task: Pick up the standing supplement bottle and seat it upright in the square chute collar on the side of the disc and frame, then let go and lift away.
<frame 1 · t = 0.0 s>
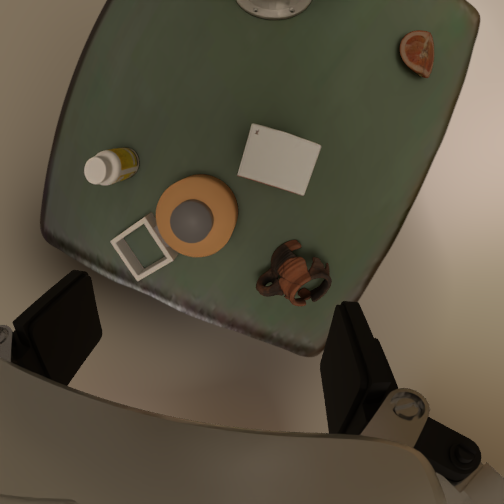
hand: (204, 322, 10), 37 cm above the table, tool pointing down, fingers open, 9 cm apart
fruit slice: (412, 57, 35), on the table
supplement bottle: (126, 162, 45), on the table
disc and frame: (172, 228, 49), on the table
small box: (277, 153, 43), on the table
brown curved piece: (291, 267, 50), on the table
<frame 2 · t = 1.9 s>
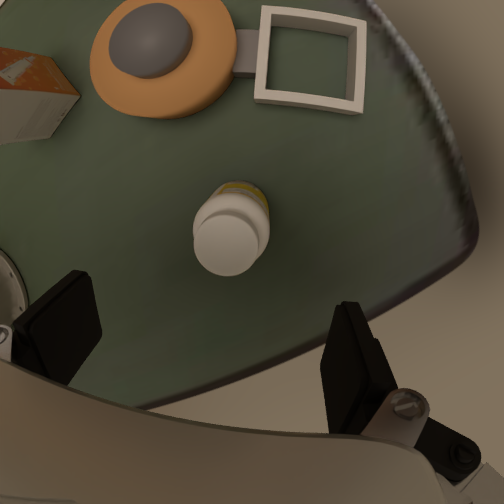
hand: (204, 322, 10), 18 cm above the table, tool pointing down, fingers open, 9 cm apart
supplement bottle: (239, 208, 27), on the table
disc and frame: (239, 57, 22), on the table
small box: (50, 96, 23), on the table
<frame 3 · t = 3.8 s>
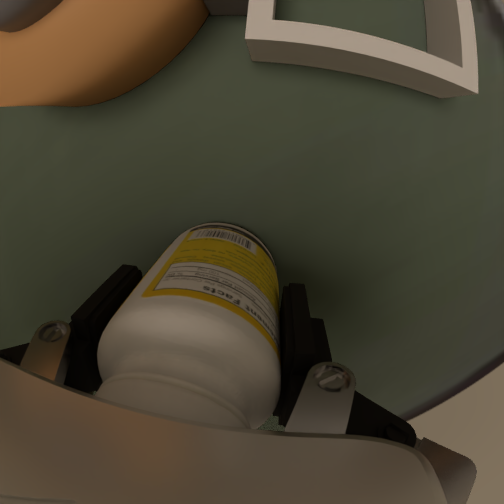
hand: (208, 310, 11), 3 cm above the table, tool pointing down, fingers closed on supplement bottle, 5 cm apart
supplement bottle: (221, 273, 14), on the table, touching gripper
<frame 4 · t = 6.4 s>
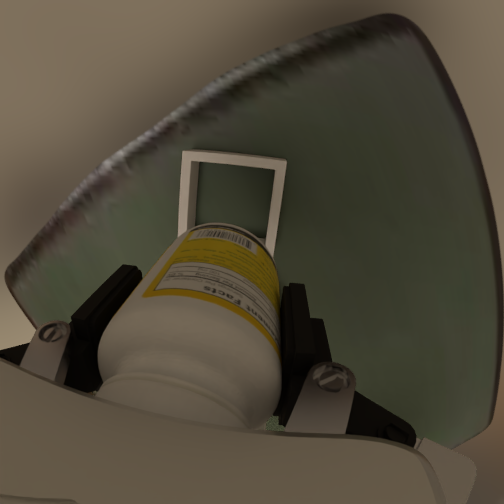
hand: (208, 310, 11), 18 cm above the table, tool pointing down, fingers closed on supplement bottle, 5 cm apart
supplement bottle: (222, 273, 14), point 15 cm above the table, touching gripper
disc and frame: (227, 257, 30), on the table
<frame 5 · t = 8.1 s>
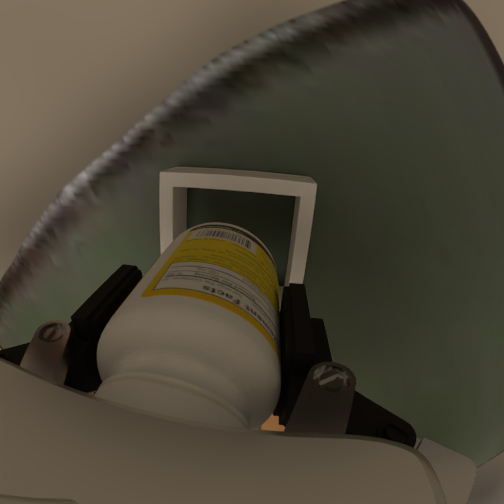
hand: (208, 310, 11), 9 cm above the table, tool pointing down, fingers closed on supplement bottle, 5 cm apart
supplement bottle: (221, 273, 14), point 6 cm above the table, touching gripper
disc and frame: (233, 310, 22), on the table
when the fingers open (4 cm above the table, at t = 9.5 s): supplement bottle drops 1 cm, resting in disc and frame.
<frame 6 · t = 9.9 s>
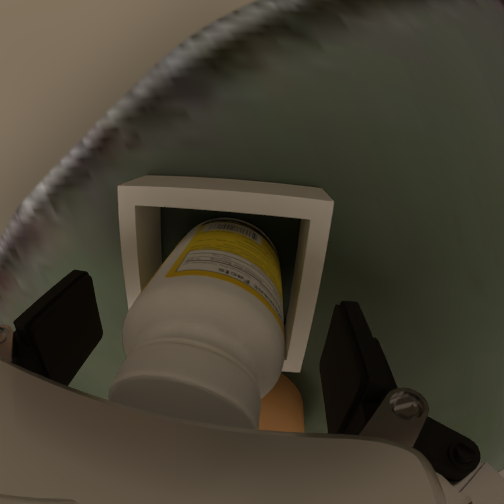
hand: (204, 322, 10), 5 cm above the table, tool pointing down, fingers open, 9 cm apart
supplement bottle: (229, 264, 16), resting in disc and frame
disc and frame: (222, 351, 18), on the table
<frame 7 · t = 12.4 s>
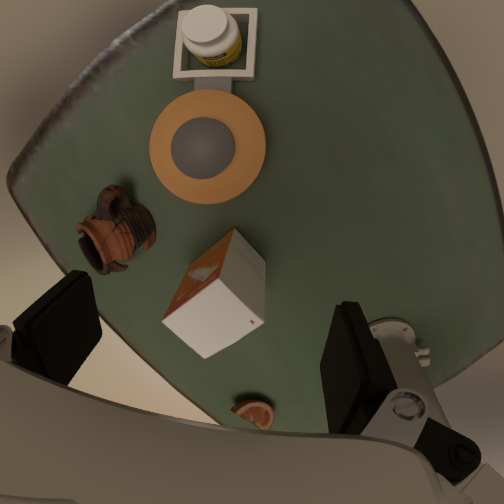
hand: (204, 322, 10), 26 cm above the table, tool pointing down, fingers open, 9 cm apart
fruit slice: (253, 401, 51), on the table
supplement bottle: (220, 49, 28), resting in disc and frame
disc and frame: (215, 94, 30), on the table
small box: (227, 261, 39), on the table
brown curved piece: (124, 221, 37), on the table
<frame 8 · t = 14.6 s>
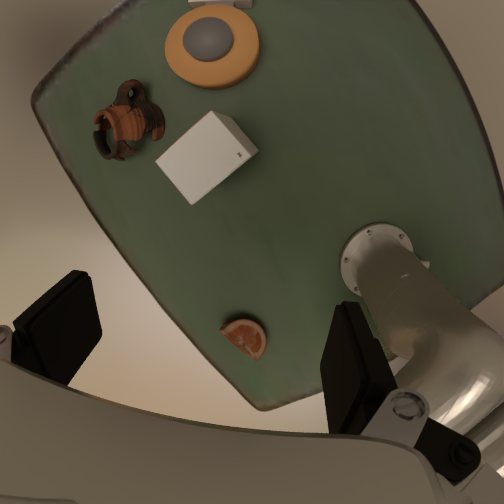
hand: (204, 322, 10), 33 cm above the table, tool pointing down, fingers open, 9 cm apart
fruit slice: (244, 327, 51), on the table
disc and frame: (221, 17, 32), on the table
small box: (223, 151, 40), on the table
brown curved piece: (137, 120, 39), on the table
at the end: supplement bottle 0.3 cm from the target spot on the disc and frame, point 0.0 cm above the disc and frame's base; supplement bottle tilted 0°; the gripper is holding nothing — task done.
